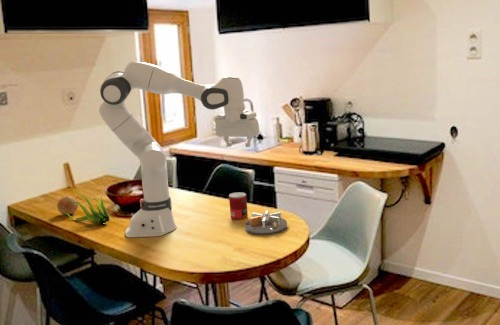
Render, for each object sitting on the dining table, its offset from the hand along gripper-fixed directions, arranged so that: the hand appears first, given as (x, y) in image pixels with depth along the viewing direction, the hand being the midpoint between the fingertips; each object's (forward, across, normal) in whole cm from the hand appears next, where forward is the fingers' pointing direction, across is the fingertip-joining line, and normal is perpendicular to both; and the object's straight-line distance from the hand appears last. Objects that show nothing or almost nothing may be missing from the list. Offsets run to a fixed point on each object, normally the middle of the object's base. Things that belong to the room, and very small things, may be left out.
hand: (238, 146), depth 224 cm
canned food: (+36, -9, +8) cm, 37 cm away
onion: (+33, -96, -16) cm, 103 cm away
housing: (+36, +10, -1) cm, 37 cm away
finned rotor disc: (+33, +10, -1) cm, 35 cm away
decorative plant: (+34, -80, -21) cm, 89 cm away
